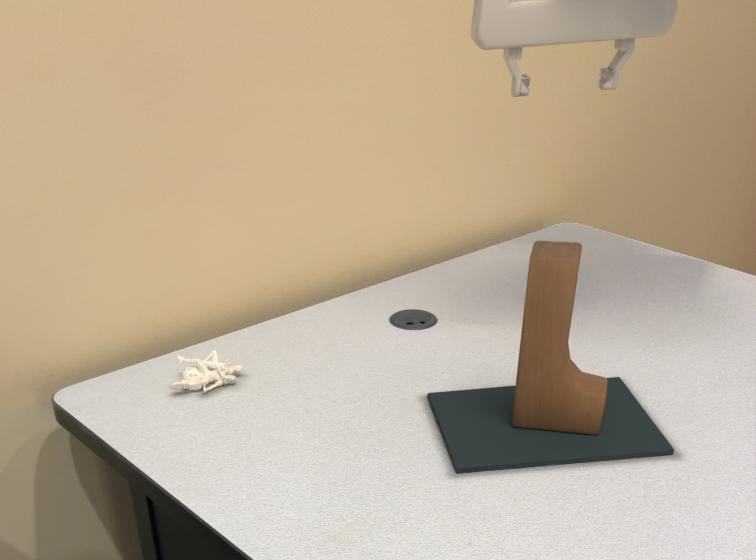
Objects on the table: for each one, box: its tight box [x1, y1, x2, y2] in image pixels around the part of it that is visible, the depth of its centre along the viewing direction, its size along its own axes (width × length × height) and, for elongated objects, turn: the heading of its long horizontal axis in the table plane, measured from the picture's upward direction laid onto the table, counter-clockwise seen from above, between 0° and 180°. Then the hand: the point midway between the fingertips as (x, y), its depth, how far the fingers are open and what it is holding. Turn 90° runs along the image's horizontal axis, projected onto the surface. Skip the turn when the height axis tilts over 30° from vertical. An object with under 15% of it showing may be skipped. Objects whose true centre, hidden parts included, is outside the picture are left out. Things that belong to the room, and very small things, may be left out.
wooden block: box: [512, 240, 608, 435], centre depth 88 cm, size 9×4×18 cm, turn 73°
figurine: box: [170, 349, 244, 394], centre depth 105 cm, size 3×8×8 cm
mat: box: [427, 376, 675, 474], centre depth 95 cm, size 22×16×1 cm
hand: (563, 92), depth 95 cm, fingers open, 8 cm apart
